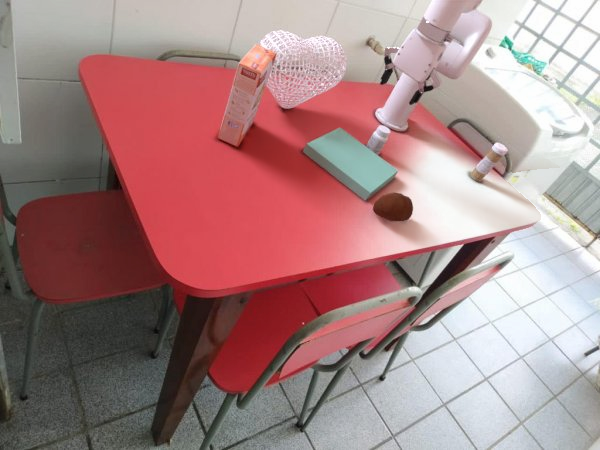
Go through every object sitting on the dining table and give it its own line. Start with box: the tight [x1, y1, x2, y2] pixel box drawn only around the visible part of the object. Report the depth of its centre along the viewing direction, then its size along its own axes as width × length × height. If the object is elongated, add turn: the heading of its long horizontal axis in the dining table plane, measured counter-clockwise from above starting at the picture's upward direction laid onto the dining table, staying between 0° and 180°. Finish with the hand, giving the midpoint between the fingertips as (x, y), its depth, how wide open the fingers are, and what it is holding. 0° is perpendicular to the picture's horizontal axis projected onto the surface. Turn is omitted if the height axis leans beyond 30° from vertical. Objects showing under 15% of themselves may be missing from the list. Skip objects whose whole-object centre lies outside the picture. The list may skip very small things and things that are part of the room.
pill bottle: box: [365, 124, 391, 156], centre depth 123 cm, size 5×5×8 cm
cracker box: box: [217, 43, 278, 148], centre depth 101 cm, size 14×6×21 cm, turn 168°
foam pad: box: [302, 127, 399, 202], centre depth 115 cm, size 18×22×3 cm
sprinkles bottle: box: [469, 142, 508, 183], centre depth 134 cm, size 5×5×13 cm
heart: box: [258, 29, 348, 110], centre depth 118 cm, size 28×16×22 cm, turn 123°
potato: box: [372, 191, 414, 222], centre depth 103 cm, size 8×12×8 cm, turn 110°
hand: (397, 93), depth 110 cm, fingers open, 9 cm apart
